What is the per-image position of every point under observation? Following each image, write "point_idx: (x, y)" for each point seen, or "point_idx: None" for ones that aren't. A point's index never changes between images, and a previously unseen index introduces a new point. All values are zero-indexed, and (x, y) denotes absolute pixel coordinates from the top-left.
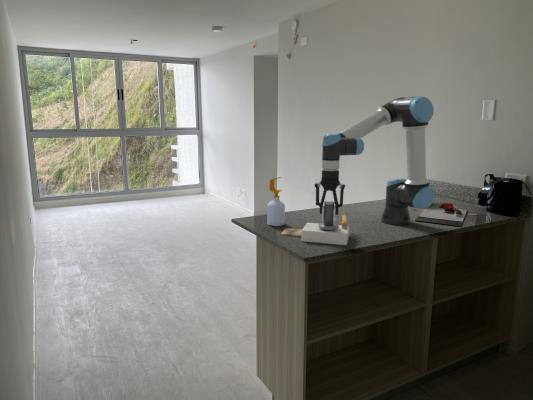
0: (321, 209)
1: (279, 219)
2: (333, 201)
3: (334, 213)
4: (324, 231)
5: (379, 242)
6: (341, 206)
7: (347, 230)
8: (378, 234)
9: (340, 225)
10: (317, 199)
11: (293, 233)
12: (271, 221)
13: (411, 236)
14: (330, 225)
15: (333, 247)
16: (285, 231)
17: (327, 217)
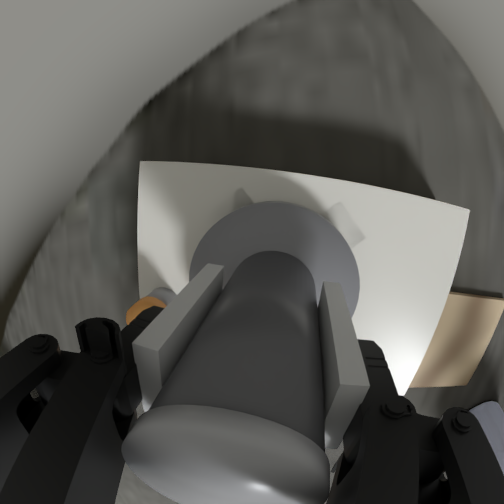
0: (368, 377)
1: (481, 426)
2: (159, 491)
3: (178, 304)
4: (309, 196)
5: (57, 242)
6: (43, 337)
7: (141, 254)
8: (77, 345)
9: None
10: (485, 491)
11: (461, 314)
12: (499, 412)
13: (15, 319)
14: (255, 255)
15: (248, 102)
16: (483, 337)
17: (280, 285)
